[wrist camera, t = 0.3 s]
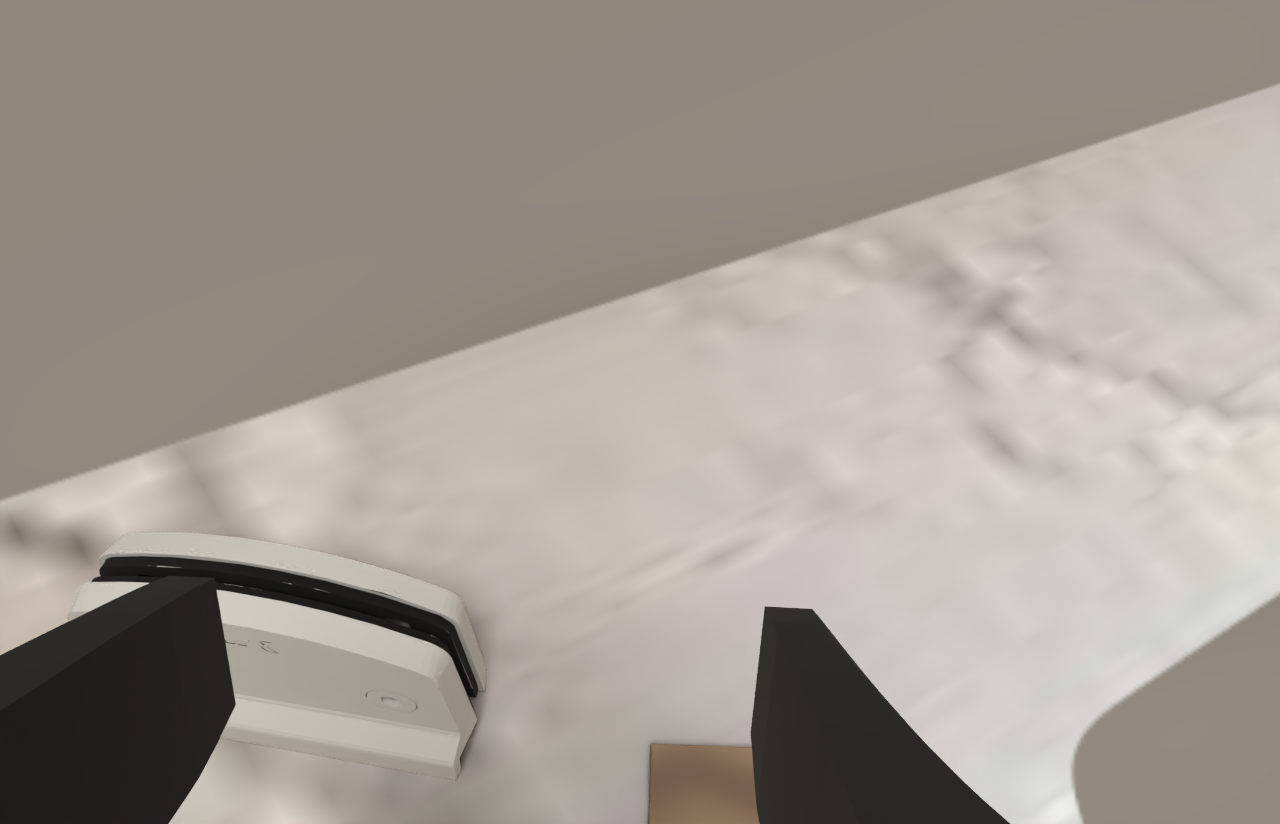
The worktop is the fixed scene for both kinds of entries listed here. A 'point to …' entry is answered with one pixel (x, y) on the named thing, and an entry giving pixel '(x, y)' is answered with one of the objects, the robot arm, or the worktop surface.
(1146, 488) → the worktop surface
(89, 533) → the worktop surface
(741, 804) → the board
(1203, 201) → the worktop surface
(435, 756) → the grey rounded block
